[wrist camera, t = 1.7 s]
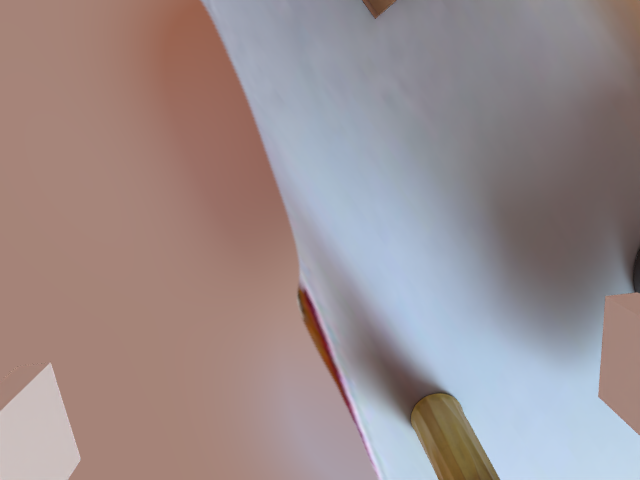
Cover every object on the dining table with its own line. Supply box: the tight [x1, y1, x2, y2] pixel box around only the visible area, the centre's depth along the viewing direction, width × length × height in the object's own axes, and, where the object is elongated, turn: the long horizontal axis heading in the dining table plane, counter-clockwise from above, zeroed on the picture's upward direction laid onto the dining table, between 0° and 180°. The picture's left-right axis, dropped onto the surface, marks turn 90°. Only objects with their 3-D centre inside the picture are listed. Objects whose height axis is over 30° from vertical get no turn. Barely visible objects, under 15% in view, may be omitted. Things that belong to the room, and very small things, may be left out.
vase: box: [411, 393, 500, 480], centre depth 44 cm, size 6×6×14 cm
